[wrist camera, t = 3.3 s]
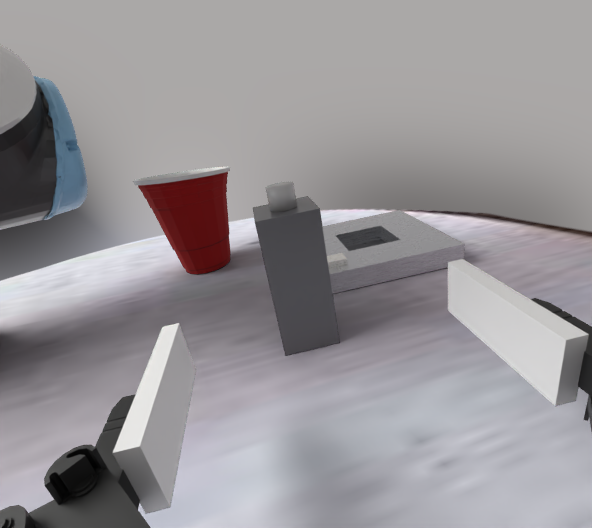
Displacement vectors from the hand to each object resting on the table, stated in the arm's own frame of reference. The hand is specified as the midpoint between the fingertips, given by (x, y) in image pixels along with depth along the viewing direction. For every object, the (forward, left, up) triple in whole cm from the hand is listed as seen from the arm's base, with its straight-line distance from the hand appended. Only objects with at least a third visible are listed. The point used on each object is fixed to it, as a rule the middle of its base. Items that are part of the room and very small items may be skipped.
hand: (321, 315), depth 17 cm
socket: (-13, +18, -6) cm, 23 cm away
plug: (-7, +4, -6) cm, 10 cm away
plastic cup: (-29, +6, -7) cm, 30 cm away
